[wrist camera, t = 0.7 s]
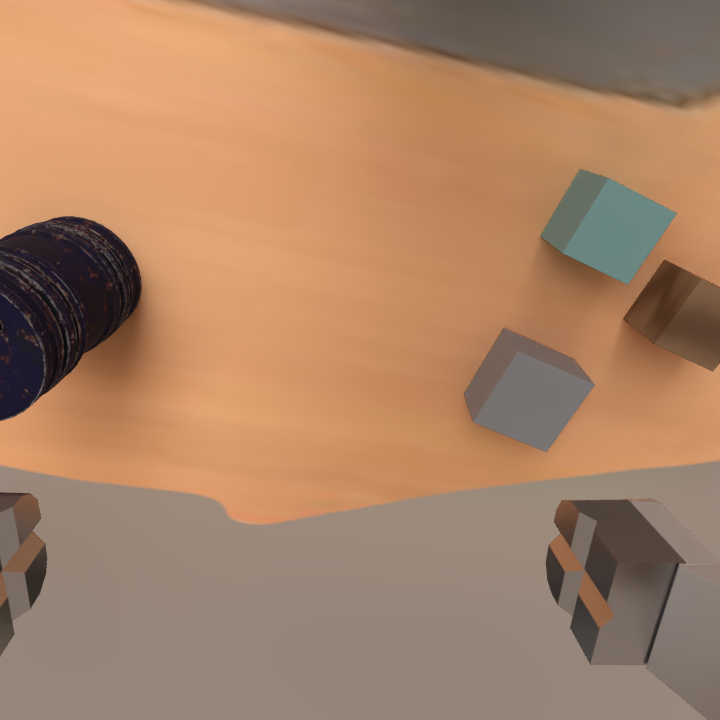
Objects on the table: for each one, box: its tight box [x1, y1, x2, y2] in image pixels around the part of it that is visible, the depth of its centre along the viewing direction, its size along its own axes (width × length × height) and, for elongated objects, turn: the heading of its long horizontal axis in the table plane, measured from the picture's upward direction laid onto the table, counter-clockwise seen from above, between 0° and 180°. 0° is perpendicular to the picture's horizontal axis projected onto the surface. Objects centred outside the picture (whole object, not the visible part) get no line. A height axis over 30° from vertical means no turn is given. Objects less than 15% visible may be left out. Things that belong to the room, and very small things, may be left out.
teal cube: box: [541, 169, 677, 285], centre depth 40 cm, size 6×6×6 cm
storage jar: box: [0, 216, 141, 421], centre depth 38 cm, size 10×10×15 cm
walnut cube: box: [623, 260, 720, 371], centre depth 43 cm, size 6×6×6 cm
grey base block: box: [464, 328, 595, 452], centre depth 46 cm, size 7×7×5 cm
